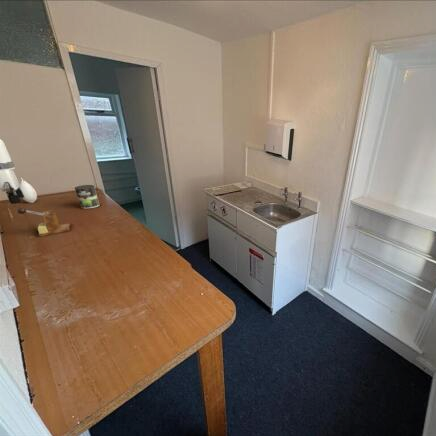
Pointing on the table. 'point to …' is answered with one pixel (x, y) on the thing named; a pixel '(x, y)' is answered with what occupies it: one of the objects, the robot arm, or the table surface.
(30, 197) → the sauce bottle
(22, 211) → the ball knob on post
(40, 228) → the butter
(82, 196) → the coffee can
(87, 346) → the table surface
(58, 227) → the wooden toy catapult
